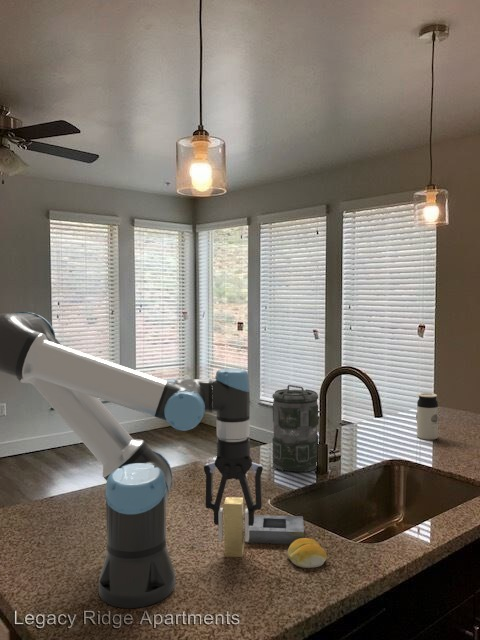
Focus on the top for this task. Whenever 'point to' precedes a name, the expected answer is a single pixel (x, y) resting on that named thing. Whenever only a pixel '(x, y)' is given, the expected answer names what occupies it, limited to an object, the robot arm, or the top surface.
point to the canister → (295, 429)
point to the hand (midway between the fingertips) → (234, 538)
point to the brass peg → (233, 527)
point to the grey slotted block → (276, 529)
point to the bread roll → (306, 553)
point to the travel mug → (427, 416)
